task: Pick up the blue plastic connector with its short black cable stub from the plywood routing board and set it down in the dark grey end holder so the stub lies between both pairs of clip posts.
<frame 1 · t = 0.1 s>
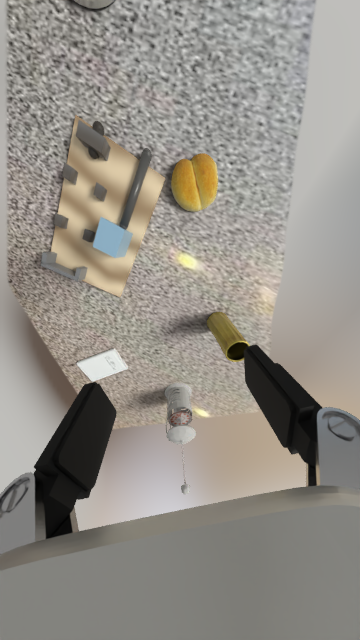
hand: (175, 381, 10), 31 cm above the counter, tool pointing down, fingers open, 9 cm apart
end holder: (74, 255, 34), resting on route board
external hard drive: (104, 362, 47), on the counter
french press: (176, 393, 55), on the counter
bread roll: (194, 186, 31), on the counter
route board: (103, 225, 32), on the counter
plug: (119, 240, 32), point 1 cm above the counter, touching route board
vase: (216, 321, 44), on the counter
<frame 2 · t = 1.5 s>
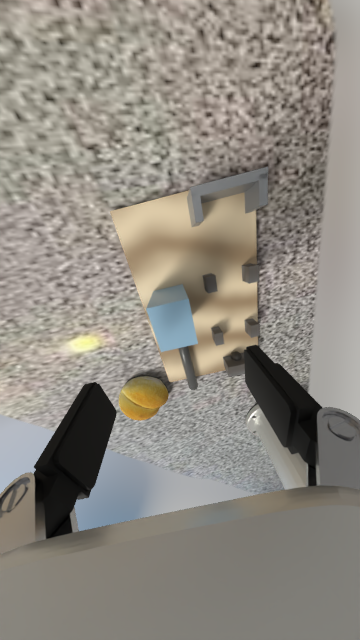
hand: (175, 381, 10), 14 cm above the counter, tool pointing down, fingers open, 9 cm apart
end holder: (220, 231, 19), resting on route board
bread roll: (144, 391, 29), on the counter
route board: (200, 303, 22), on the counter
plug: (172, 304, 21), point 1 cm above the counter, touching route board
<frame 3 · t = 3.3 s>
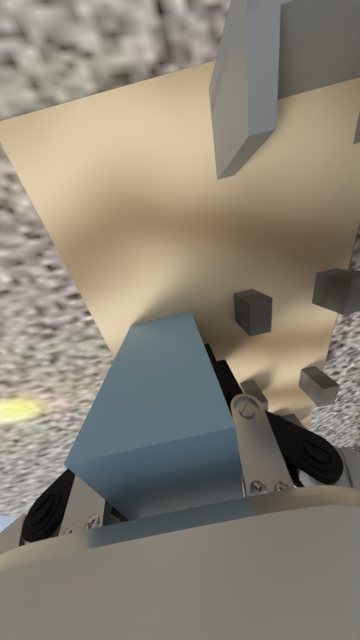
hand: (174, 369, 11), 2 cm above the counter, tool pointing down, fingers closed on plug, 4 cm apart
end holder: (279, 195, 8), resting on route board
route board: (222, 341, 12), on the counter
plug: (170, 349, 11), point 1 cm above the counter, touching gripper, route board
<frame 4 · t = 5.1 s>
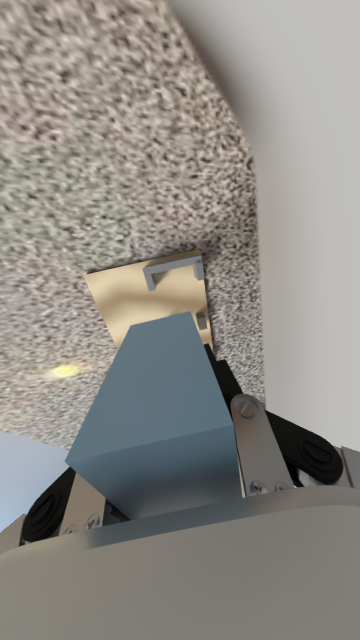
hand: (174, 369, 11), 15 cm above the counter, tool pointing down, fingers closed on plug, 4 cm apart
end holder: (176, 287, 23), resting on route board
route board: (164, 339, 26), on the counter
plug: (169, 349, 11), point 14 cm above the counter, touching gripper
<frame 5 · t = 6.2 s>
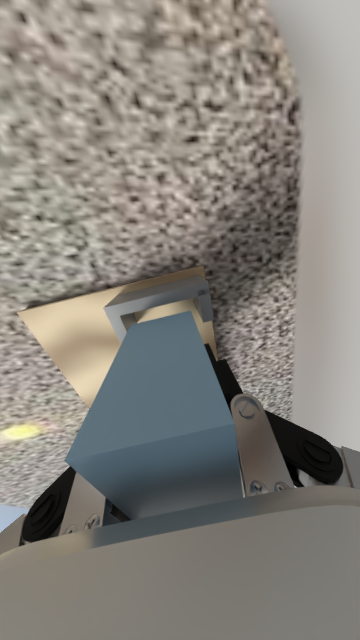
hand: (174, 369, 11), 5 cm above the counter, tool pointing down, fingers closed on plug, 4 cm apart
end holder: (169, 322, 15), resting on route board
route board: (155, 389, 19), on the counter
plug: (170, 348, 11), point 5 cm above the counter, touching gripper
when the fingers open (3 cm above the counter, at t = 7.0 s): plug stays where it is, resting on route board.
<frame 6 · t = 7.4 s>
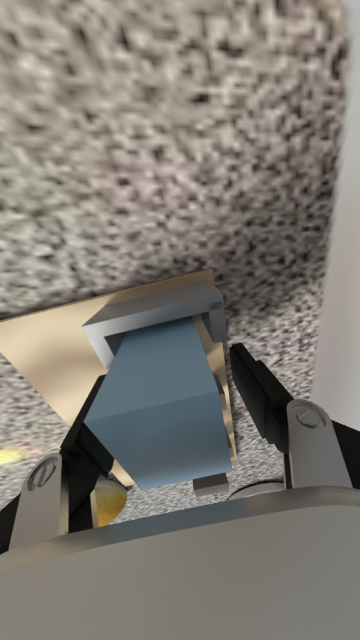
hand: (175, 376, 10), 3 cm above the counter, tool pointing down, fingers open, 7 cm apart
end holder: (169, 336, 12), resting on route board
bread roll: (98, 488, 23), on the counter
route board: (153, 411, 16), on the counter
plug: (169, 342, 12), point 1 cm above the counter, touching route board
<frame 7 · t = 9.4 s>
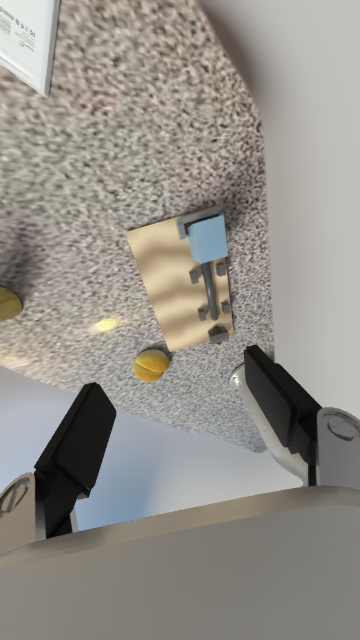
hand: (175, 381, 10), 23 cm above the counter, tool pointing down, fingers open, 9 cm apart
end holder: (199, 241, 27), resting on route board
bread roll: (151, 361, 39), on the counter
route board: (188, 291, 31), on the counter
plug: (200, 241, 27), point 1 cm above the counter, touching route board
vase: (5, 301, 29), on the counter
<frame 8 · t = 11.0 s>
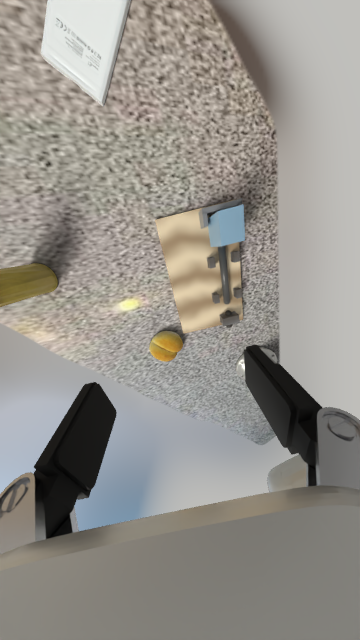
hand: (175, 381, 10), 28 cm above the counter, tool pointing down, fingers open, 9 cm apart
end holder: (217, 231, 31), resting on route board
external hard drive: (90, 30, 21), on the counter
bread roll: (166, 343, 42), on the counter
route board: (205, 276, 35), on the counter
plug: (218, 231, 31), point 1 cm above the counter, touching route board
vase: (43, 278, 33), on the counter
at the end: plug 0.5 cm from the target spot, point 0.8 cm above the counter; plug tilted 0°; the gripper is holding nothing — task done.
